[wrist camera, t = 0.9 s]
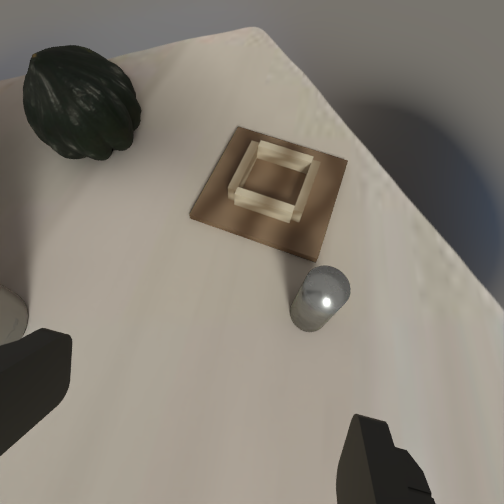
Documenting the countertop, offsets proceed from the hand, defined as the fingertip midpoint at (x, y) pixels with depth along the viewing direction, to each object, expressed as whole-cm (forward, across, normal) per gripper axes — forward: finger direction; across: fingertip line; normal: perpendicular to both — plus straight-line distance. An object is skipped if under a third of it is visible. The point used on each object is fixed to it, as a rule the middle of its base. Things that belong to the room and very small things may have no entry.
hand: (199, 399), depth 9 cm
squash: (+42, +31, -7) cm, 52 cm away
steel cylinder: (+31, -5, +9) cm, 33 cm away
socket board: (+42, +3, -4) cm, 42 cm away
